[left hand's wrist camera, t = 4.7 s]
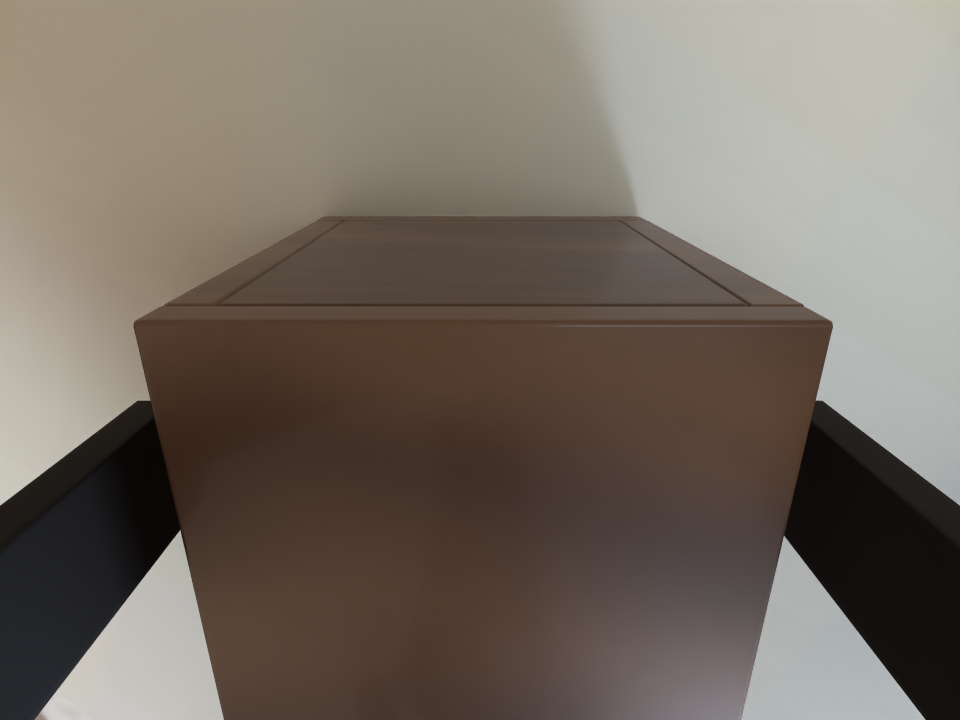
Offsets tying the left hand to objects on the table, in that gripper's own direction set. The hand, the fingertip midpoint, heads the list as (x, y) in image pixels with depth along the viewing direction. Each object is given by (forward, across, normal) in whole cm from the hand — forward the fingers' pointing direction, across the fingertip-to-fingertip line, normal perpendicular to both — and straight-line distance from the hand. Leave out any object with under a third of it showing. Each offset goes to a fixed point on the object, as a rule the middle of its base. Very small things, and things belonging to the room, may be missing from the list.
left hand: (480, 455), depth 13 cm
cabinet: (+8, 0, -5) cm, 9 cm away
